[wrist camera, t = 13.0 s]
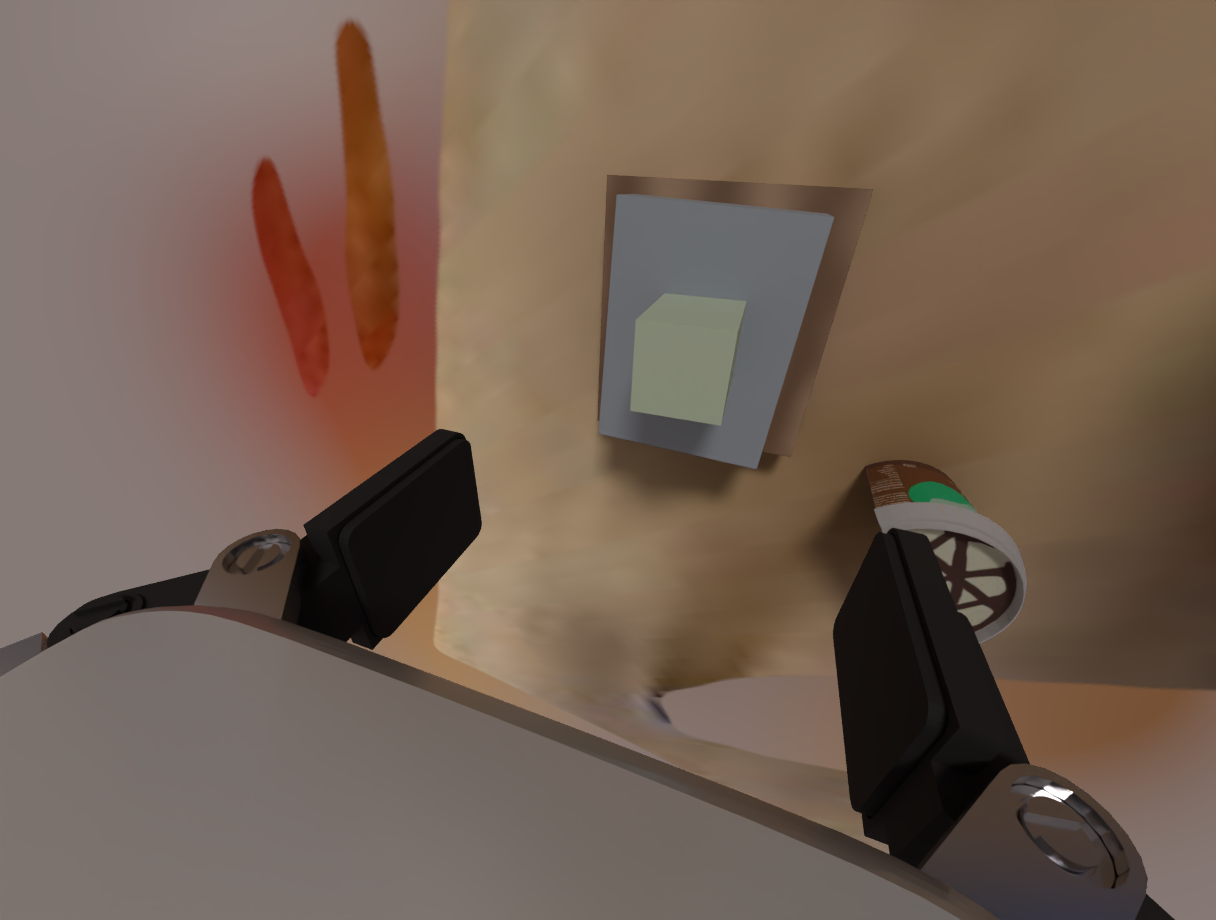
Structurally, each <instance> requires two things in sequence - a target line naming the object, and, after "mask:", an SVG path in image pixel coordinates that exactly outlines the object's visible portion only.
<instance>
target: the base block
mask: <svg viewBox="0 0 1216 920" xmlns="http://www.w3.org/2000/svg"><path fill="white" fill-rule="evenodd" d="M872 192H873V189H858V188H839V187H821V186H802V185H784V184H765V183H746V182H728V181H709V180H691V179H672V178H654V177H635V176H617V175H607V191H606V217H605V242H604V268H603V293H602V319H601V345H600V370H599V396H598V421H599V420H600V407H601V394H602V381H603V367H604V354H605V341H606V328H607V315H608V302H609V289H610V276H611V263H612V250H613V237H614V224H615V210H616V197H617V195H618V194H640V195H650V196H660V197H670V198H679V199H689V200H699V201H709V202H719V203H728V204H738V205H748V206H758V207H768V208H777V209H787V210H797V211H807V212H816V213H826V214H829V215H831V216H833V217H834V220H833V223H832V226H831V230H830V233H829V236H828V239H827V243H826V246H825V249H824V252H823V256H822V259H821V262H820V265H819V269H818V272H817V275H816V278H815V282H814V285H813V288H812V291H811V295H810V298H809V301H808V304H807V308H806V311H805V314H804V317H803V321H802V324H801V327H800V330H799V334H798V337H797V340H796V343H795V347H794V350H793V353H792V356H791V359H790V363H789V366H788V369H787V372H786V376H785V379H784V382H783V385H782V389H781V392H780V395H779V398H778V402H777V405H776V408H775V411H774V415H773V418H772V421H771V424H770V428H769V431H768V434H767V437H766V441H765V444H764V447H763V450H762V452H766V453H771V454H776V455H782V456H787V457H791V455H792V451H793V448H794V445H795V442H796V438H797V435H798V432H799V429H800V425H801V422H802V419H803V416H804V412H805V409H806V406H807V403H808V399H809V396H810V393H811V390H812V387H813V383H814V380H815V377H816V374H817V370H818V367H819V364H820V361H821V357H822V354H823V351H824V348H825V344H826V341H827V338H828V335H829V332H830V328H831V325H832V322H833V319H834V315H835V312H836V309H837V306H838V302H839V299H840V296H841V293H842V289H843V286H844V283H845V280H846V277H847V273H848V270H849V267H850V264H851V260H852V257H853V254H854V251H855V247H856V244H857V241H858V238H859V234H860V231H861V228H862V225H863V222H864V218H865V215H866V212H867V209H868V205H869V202H870V199H871V196H872Z"/></svg>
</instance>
